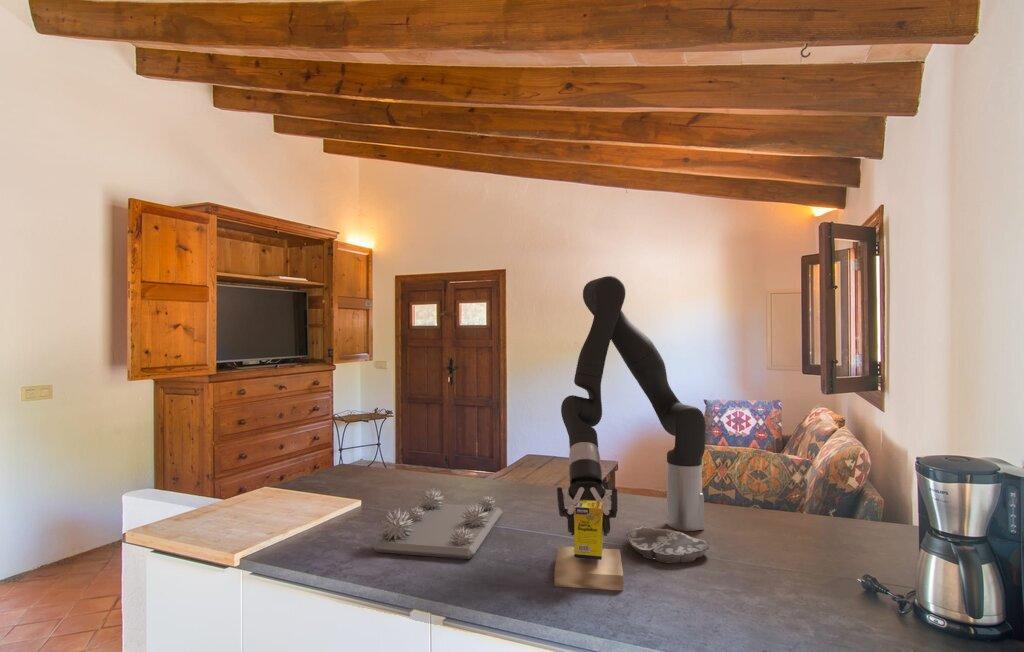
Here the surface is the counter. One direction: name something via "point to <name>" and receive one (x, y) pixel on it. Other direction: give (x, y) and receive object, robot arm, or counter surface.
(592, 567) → the oak base board
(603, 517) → the robot arm
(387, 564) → the counter surface
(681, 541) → the brain slice
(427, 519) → the decorative tray
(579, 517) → the supplement box
